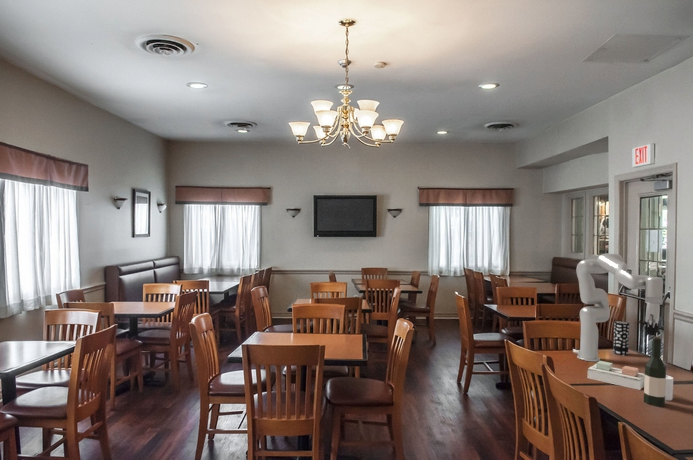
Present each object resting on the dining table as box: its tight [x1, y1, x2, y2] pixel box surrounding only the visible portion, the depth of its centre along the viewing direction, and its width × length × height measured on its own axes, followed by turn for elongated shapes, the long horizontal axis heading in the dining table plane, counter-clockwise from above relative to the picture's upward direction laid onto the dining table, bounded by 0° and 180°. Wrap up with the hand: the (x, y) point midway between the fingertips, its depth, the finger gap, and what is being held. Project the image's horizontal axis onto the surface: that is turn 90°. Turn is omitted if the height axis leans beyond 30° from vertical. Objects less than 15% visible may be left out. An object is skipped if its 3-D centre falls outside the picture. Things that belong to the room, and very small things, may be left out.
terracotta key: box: [621, 365, 639, 377], centre depth 245 cm, size 6×6×3 cm
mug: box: [665, 374, 674, 401], centre depth 228 cm, size 12×9×10 cm
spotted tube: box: [612, 320, 630, 357], centre depth 306 cm, size 8×8×20 cm
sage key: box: [596, 360, 613, 371], centre depth 253 cm, size 6×6×3 cm
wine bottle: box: [643, 335, 667, 407], centre depth 218 cm, size 8×8×30 cm
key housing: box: [586, 363, 645, 391], centre depth 249 cm, size 24×14×5 cm, turn 47°
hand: (652, 333), depth 251 cm, fingers open, 9 cm apart
